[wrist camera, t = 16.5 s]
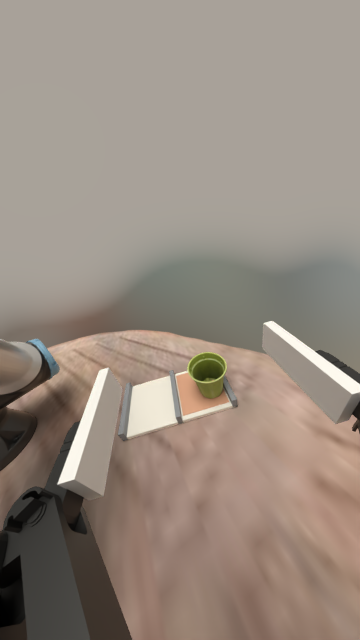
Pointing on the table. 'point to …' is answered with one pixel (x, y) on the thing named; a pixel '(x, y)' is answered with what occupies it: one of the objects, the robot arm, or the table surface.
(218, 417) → the table surface
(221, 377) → the plant pot
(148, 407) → the slot board
